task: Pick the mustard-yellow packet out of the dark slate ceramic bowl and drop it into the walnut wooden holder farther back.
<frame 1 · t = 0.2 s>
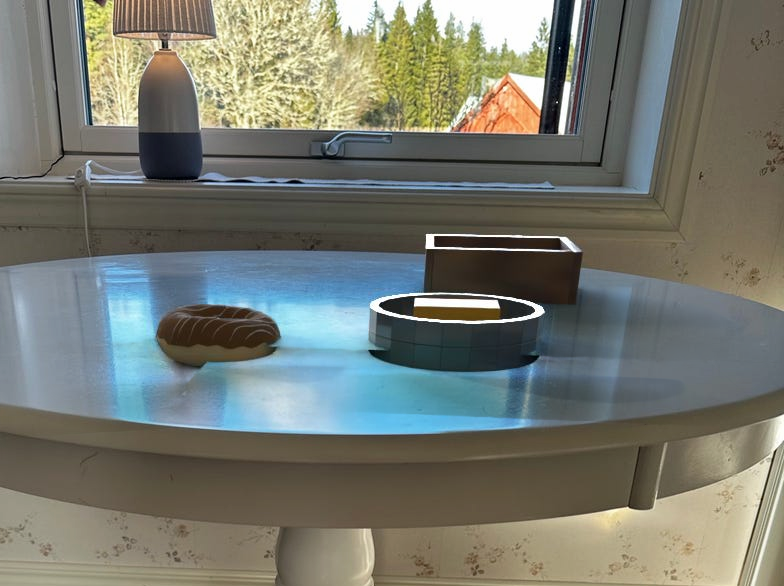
holder: (493, 308, 105), on the table
packet: (452, 351, 82), point 1 cm above the table, touching bowl
donut: (219, 360, 82), on the table
bowl: (451, 361, 82), on the table
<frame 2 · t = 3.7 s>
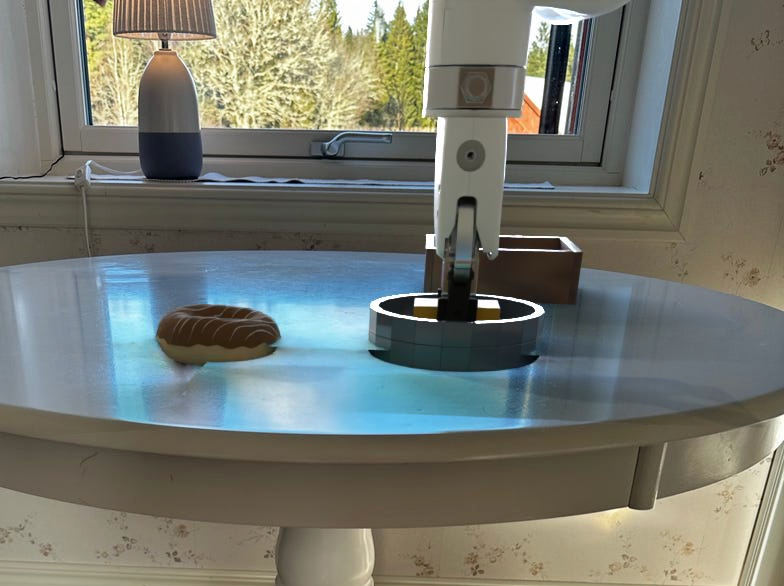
hand: (453, 340, 81), 2 cm above the table, tool pointing down, fingers closed on packet, 4 cm apart
packet: (452, 351, 82), point 1 cm above the table, touching bowl, gripper
everything else where it was.
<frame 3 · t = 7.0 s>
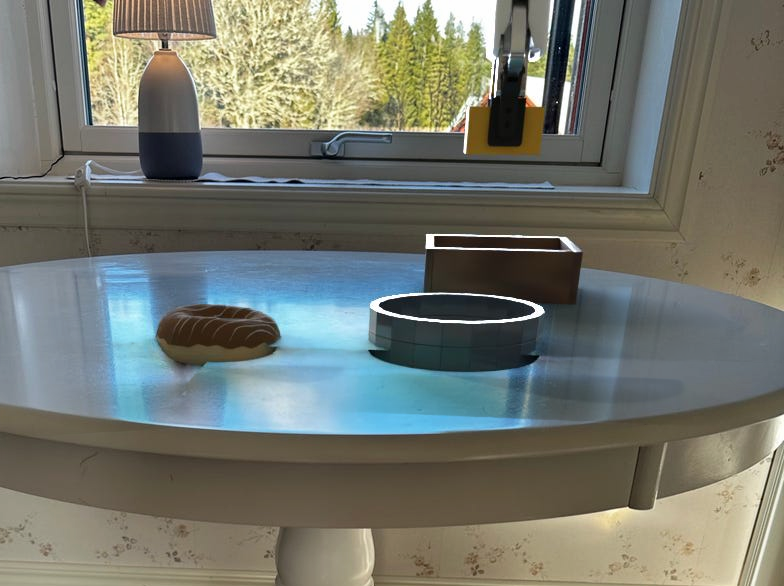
hand: (502, 143, 92), 16 cm above the table, tool pointing down, fingers closed on packet, 4 cm apart
packet: (500, 154, 93), point 15 cm above the table, touching gripper
everything else where it was.
when the fingers open (5 cm above the table, at t = 10.6 s): packet drops 4 cm, resting on holder.
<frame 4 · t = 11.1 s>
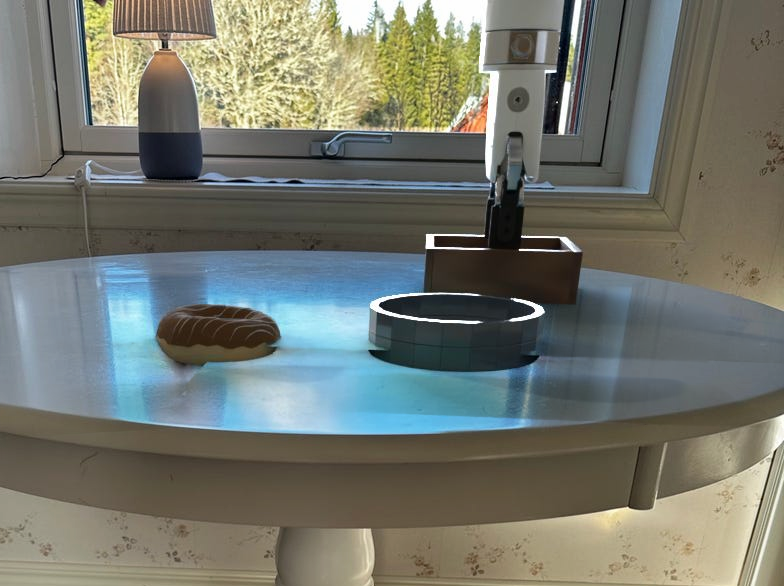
hand: (501, 243, 102), 7 cm above the table, tool pointing down, fingers open, 9 cm apart
packet: (493, 301, 105), point 1 cm above the table, touching holder
everything else where it was.
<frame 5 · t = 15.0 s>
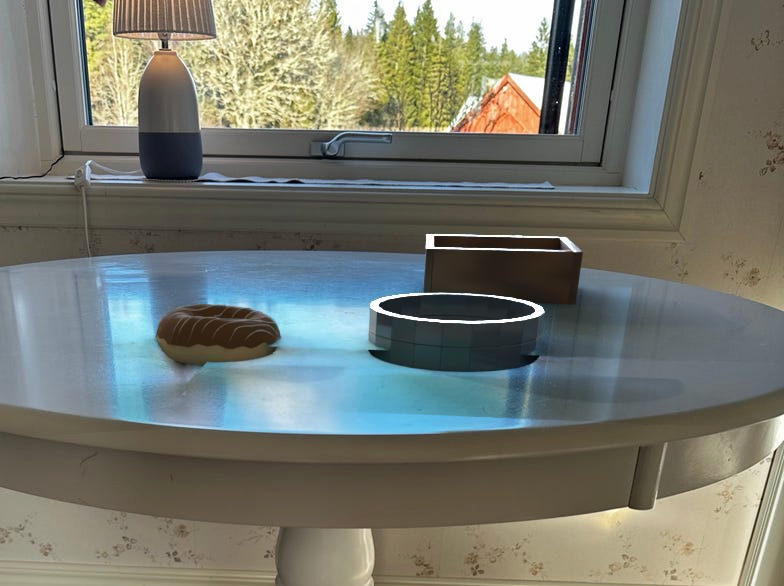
nothing on the table moved.
at the end: packet inside the target area in the holder (0.0 cm from its centre), point 0.8 cm above the holder's base; the gripper is holding nothing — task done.
